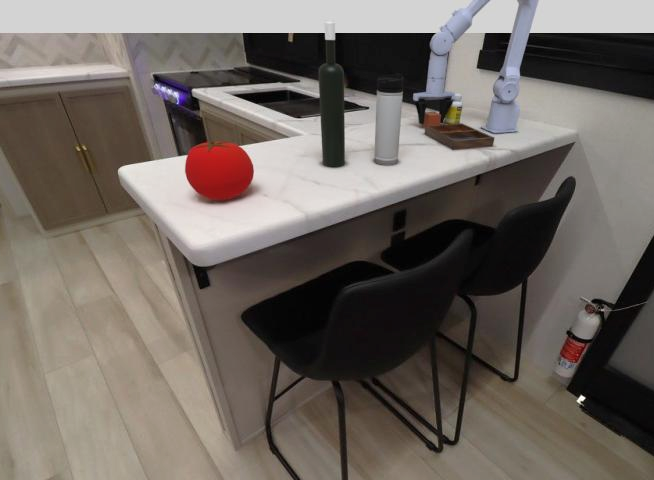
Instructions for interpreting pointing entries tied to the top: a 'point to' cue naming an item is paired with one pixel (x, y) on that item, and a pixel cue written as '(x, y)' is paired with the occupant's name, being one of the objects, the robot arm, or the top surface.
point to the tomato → (219, 170)
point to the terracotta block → (431, 119)
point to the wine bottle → (332, 104)
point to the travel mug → (388, 118)
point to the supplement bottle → (454, 111)
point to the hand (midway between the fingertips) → (430, 123)
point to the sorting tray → (459, 136)
